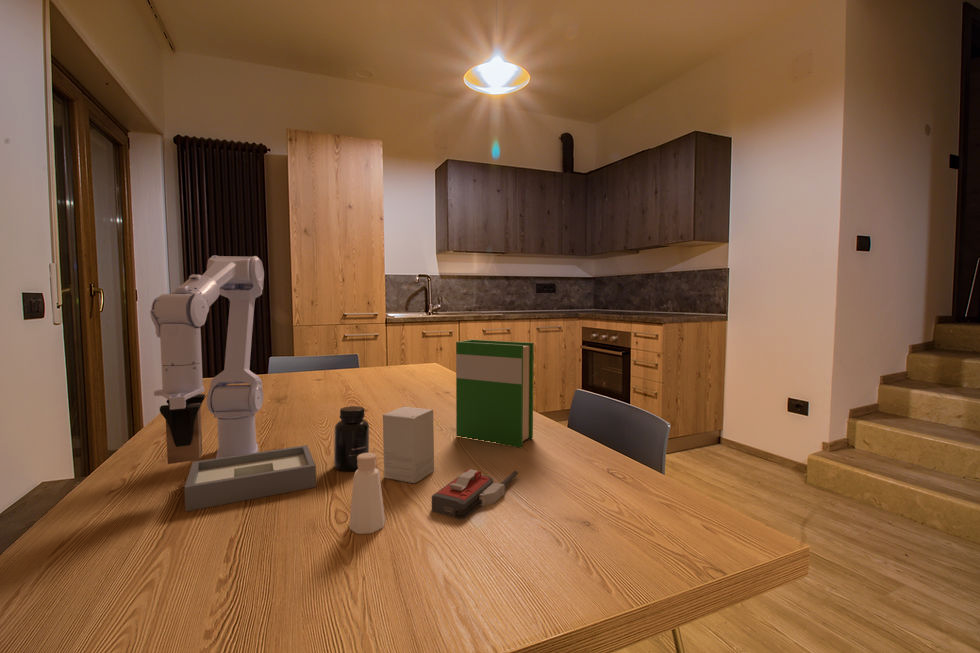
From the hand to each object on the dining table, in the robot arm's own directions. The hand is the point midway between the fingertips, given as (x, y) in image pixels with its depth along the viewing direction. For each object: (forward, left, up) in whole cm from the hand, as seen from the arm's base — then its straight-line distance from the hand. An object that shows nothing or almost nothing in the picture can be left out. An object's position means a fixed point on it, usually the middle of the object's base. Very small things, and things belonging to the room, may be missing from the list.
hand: (185, 441), depth 77 cm
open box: (0, +10, -10) cm, 14 cm away
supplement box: (+9, +37, -10) cm, 40 cm away
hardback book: (-3, +63, -10) cm, 64 cm away
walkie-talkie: (+24, +45, -10) cm, 52 cm away
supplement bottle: (-1, +28, -10) cm, 30 cm away
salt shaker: (+25, +25, -10) cm, 37 cm away
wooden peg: (0, 0, -3) cm, 3 cm away
